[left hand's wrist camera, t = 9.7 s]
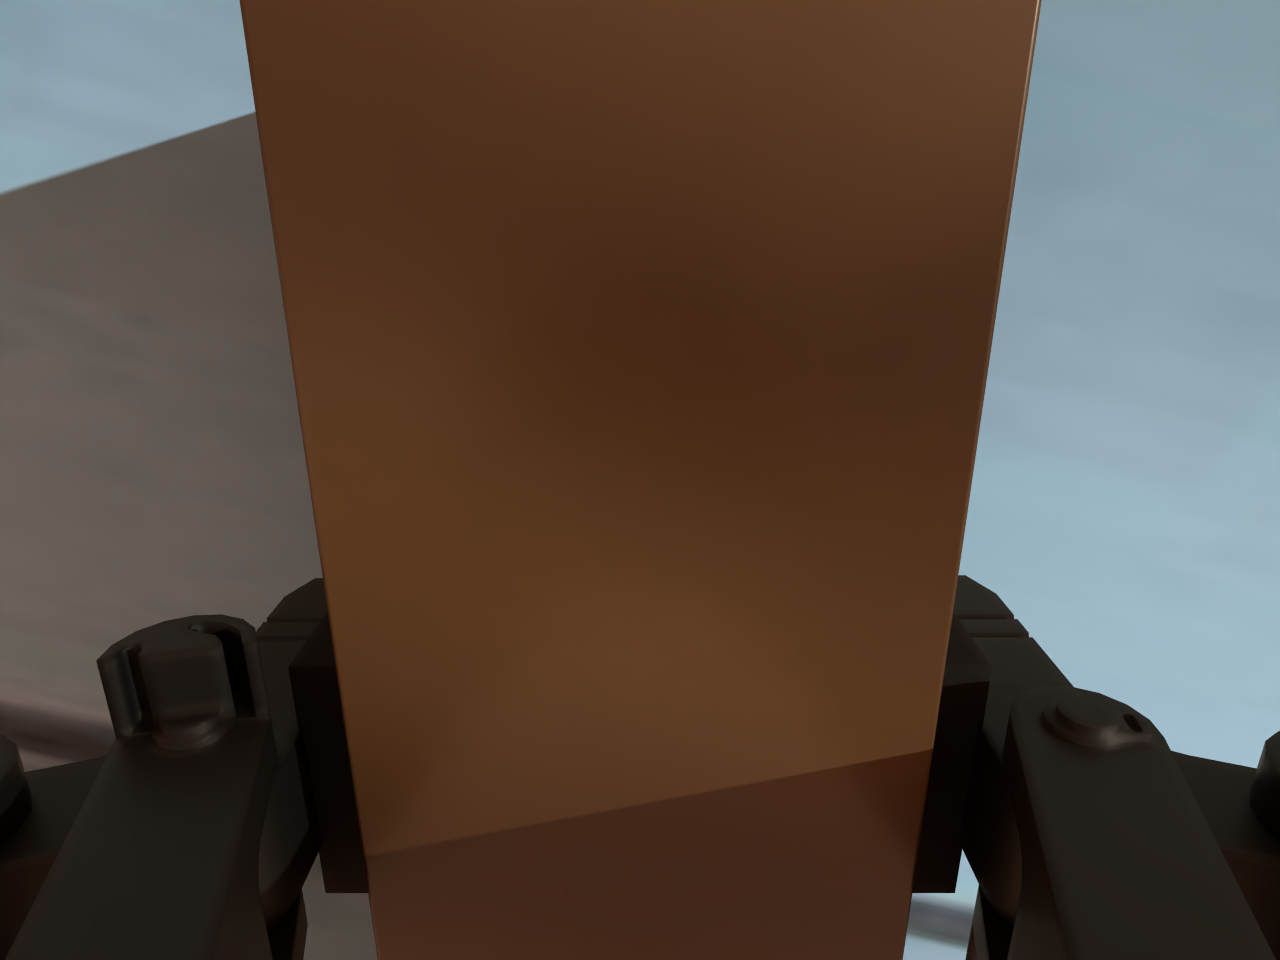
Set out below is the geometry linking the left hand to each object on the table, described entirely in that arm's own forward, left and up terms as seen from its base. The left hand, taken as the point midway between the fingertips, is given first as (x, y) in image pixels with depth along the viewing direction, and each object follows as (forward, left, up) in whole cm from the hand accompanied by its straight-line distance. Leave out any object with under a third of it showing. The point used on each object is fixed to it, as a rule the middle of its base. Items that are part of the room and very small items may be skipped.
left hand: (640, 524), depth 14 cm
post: (+27, +20, -1) cm, 33 cm away
